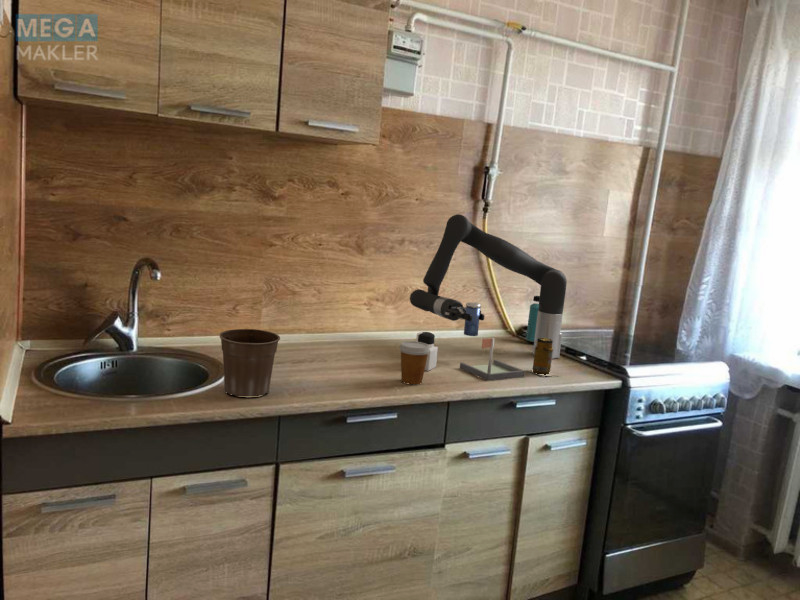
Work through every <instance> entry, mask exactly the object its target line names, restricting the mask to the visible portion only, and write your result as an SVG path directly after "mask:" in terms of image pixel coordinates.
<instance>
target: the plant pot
mask: <svg viewBox="0 0 800 600" xmlns="http://www.w3.org/2000/svg"><path fill="white" fill-rule="evenodd" d="M219 338H220V344H221V351H222V359H223V360H222V361H223V364H222V365H223V382H224V383H223V384H224V385H223V386H224V387H223V389H224V392H225V393H226V392H227V393H229V394H232V395H233V396H235V395H236V397H237V396H259V395H267V394H266V393H268V392H269V393H270V388H271V387H270V385H271V378H272V374H273V373H272V372H273V367H274V362H275V355H276V352H277V350H278V344H279V341H280V340H281V337H280V335H279V334H277V333H275V332H272V331H268V330H264V329H263V330H262V329H255V328H254V329H253V328H235V329H228V330H224V331H221V332H220V333H219ZM227 393H226V394H227ZM269 393H268V394H269Z"/></svg>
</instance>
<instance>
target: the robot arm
mask: <svg viewBox="0 0 800 600" xmlns="http://www.w3.org/2000/svg"><path fill="white" fill-rule="evenodd" d="M441 238H442V239H441V241H440V243H439V244H440V245H439V246H438V249H437V250H436V253H435V255H434V257H433V259H432V261H431V263H430V265H429V266H428V269H427V271H426V273H425V274H424V277H423V279H422V282H423V284H424V285H425V286H426V287H427V291H426V290H424V289H414V290H412V292H411V293H410V295H409V302H410V304H411V305H412V306H413V307H415V308H417V309H419V310H422V311H423V312H424V311H425V312H430V313H432V314H434V315H436V316H437V315H438V316H439V317H441V318H444V319H446V320H448V321H452V322H453V321H454V322H456V321H458V320H464V321H465V320H467V321H472V315H470V314H467V313H466V306H463V303H462V302H461V301H459V300H456V299H453V298H450V297H446V296H445V297H444V296H440V295H439V292H440V288H441V284H442V282H443V281H444V279H445V276H446V274H447V273H448V270H449V268H450V264H451V262H452V259H453V256H454V253H455V251H456V250H457V248H458V246H459V244H460V243H461V242H462V243H463V244H466V245H467V246H470V247H472V248H474V249H476V250H477V251H478V252H479V253H481V254H483V255H484V256H485V257H486V258H487V259H489V260H491V261H492V262H494V263H496V264H497V265H499V266H501V267H503V269H507V270H509V271H511V272H513V273H516V274H519V275H522V276H524V277H527V278H529V279H531V280H532V281H534V283H536V284H538V285H539V286H540V289H539V290H540V292H539V296H540V297H539V302H538V304H539V307H538V316H537V324H536V332H535V340H534V341H533V349H532V355H533V356H534V354H535V347H536V345H537V339H538V338H548V339H551V340H552V341H553V343H552V348H553V353H552V360H553V359H559V358H560V354H561V353H560V352H561V347H562V337H563V333H561V329H562V321H563V312H564V307H565V298H566V291H567V284H568V283H567V282H568V281H567V277H566V275H565V274H564V273H563V272H562V271H561V270H559V269H556V268H554V267H551V266H549V265H547V264H545V263H543V262H541V261H539V260H537V259H536V258H534V257H533V256H532V255H530V254H529V253H527V252H525V250H523V249H521V248H519V247H518V246H516V245H514V244H513V243H511V242H509V241H507V240H505V239H504V238H501V237H499V236H496V235H493V234H489V233H487V232H486V231H483V230H482V229H480V228H479V227H477V226H476V225H474V224H473V223H472V222H470V221H469V219H468V218H467V217H466V216H465V215H463V214H454V215H452V216H451V217H449V218H448V220H447V222H446V225H445V229H444V233H443V235H442V237H441ZM484 320H485V314H484V313H482V310H480V318H479V321H484Z"/></svg>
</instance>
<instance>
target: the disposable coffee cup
mask: <svg viewBox="0 0 800 600" xmlns="http://www.w3.org/2000/svg"><path fill="white" fill-rule="evenodd" d="M398 348H399V351H400V366H401V367H400V372H401V376H400V377H401V382H402V381H403V382H405V383H409V384H419V385H421V384H423V379H424V378H423V377H424V374H425V371H424V370H425V366H426V361H427V357H428V353H429V351H430V349H429V345H428V344H425V343H422V342H416V340H414V341H412V340H407V341H406V340H405V341H402V342H401V343H400V345H399V346H398ZM403 382H402V383H403ZM405 383H404V384H405ZM420 383H421V384H420ZM409 384H408V385H409Z"/></svg>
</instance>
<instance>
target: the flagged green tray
mask: <svg viewBox="0 0 800 600" xmlns="http://www.w3.org/2000/svg"><path fill="white" fill-rule="evenodd" d="M494 344H495V338H494V337H491V338H490V337H489V338H483V339H482V342H481V349H489V354H488V362H487V363H488V364H477V365H469V364H467V363H465V362H459V369H460V370H462V369H463V371H465V372H468V373H469V372H470V373H469V374H471V373H472V375H473V376H476V377H478V376H479V377H478V378H480V377H481V379H483V380H485V381H487V380H488V381H489V380H491V381H499V380H506V379H508V378H509V379H515V378H516V379H518V378H524V377H525V374H526V373H525V372H526V371H525V370H523V369H521V368H518V367H516V366H513V365H511V364H508V363H506V362H503V361H501V360H498V359H493V354H494ZM492 362H493V363H492ZM488 381H487V382H488ZM489 382H490V381H489Z"/></svg>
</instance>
